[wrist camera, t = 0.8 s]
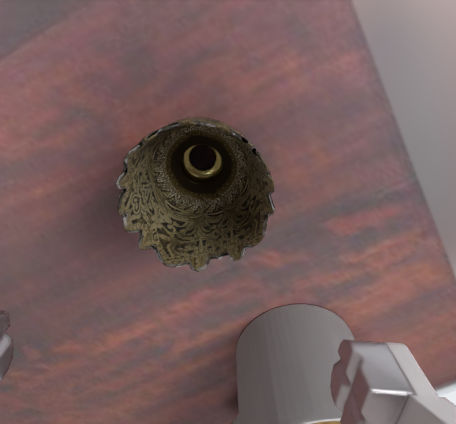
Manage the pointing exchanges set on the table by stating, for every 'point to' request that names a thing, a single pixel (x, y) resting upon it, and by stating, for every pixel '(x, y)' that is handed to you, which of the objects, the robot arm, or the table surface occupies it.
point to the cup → (195, 194)
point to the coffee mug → (289, 366)
